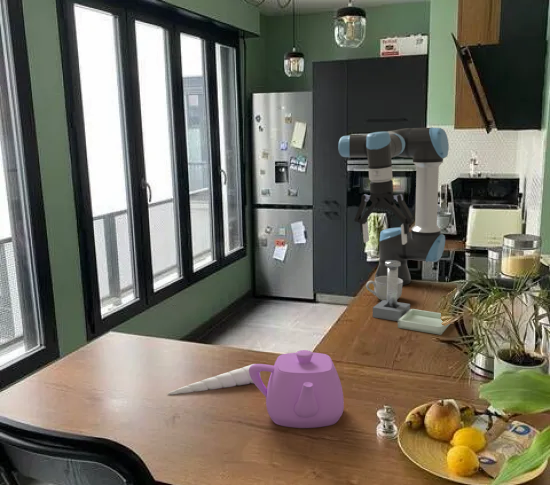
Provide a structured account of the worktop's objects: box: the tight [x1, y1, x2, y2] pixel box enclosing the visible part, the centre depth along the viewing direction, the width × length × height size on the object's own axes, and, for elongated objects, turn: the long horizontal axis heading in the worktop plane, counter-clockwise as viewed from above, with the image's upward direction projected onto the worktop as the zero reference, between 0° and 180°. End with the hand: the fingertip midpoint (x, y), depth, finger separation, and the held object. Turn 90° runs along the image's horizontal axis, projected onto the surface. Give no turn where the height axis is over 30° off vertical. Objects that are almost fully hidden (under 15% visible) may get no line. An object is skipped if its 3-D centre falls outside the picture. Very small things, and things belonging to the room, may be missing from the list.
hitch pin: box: [385, 260, 401, 308], centre depth 188 cm, size 5×5×19 cm
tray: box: [397, 308, 452, 336], centre depth 180 cm, size 14×14×2 cm
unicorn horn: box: [166, 363, 262, 395], centre depth 137 cm, size 5×24×5 cm, turn 105°
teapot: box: [249, 349, 345, 429], centre depth 118 cm, size 23×21×15 cm
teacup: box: [365, 276, 403, 301], centre depth 208 cm, size 14×11×8 cm
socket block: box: [372, 300, 411, 322], centre depth 190 cm, size 10×10×4 cm
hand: (385, 242), depth 183 cm, fingers open, 13 cm apart
